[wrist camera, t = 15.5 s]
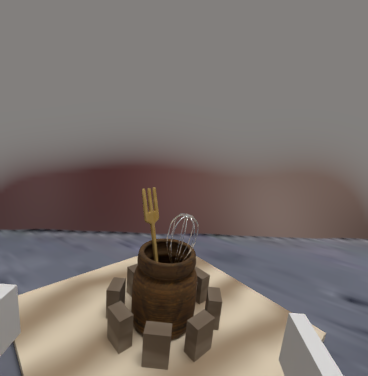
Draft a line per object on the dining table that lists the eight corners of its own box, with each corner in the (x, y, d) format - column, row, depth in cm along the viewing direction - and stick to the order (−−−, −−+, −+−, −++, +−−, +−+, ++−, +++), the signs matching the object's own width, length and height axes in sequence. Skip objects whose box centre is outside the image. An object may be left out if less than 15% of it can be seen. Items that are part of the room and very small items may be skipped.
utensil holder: (158, 358, 18) (169, 212, 16) (116, 312, 23) (120, 191, 20) (206, 320, 23) (221, 200, 20) (163, 287, 27) (171, 184, 24)
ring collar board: (323, 341, 23) (333, 306, 22) (102, 696, 8) (104, 629, 7) (174, 249, 38) (176, 226, 37) (4, 308, 23) (1, 272, 22)
